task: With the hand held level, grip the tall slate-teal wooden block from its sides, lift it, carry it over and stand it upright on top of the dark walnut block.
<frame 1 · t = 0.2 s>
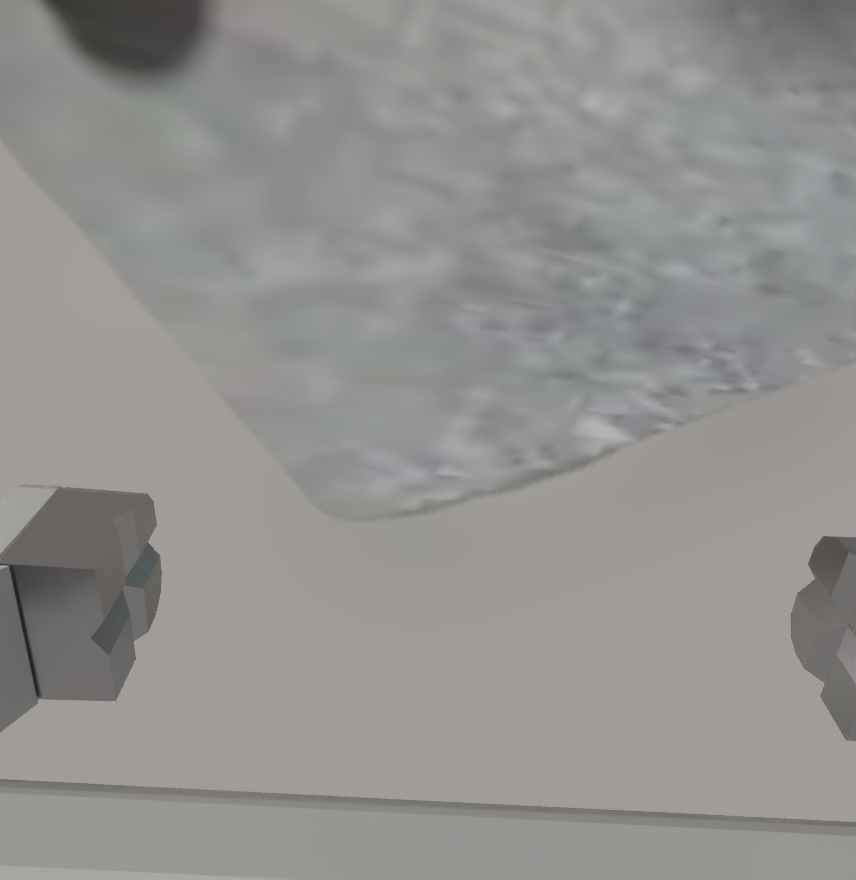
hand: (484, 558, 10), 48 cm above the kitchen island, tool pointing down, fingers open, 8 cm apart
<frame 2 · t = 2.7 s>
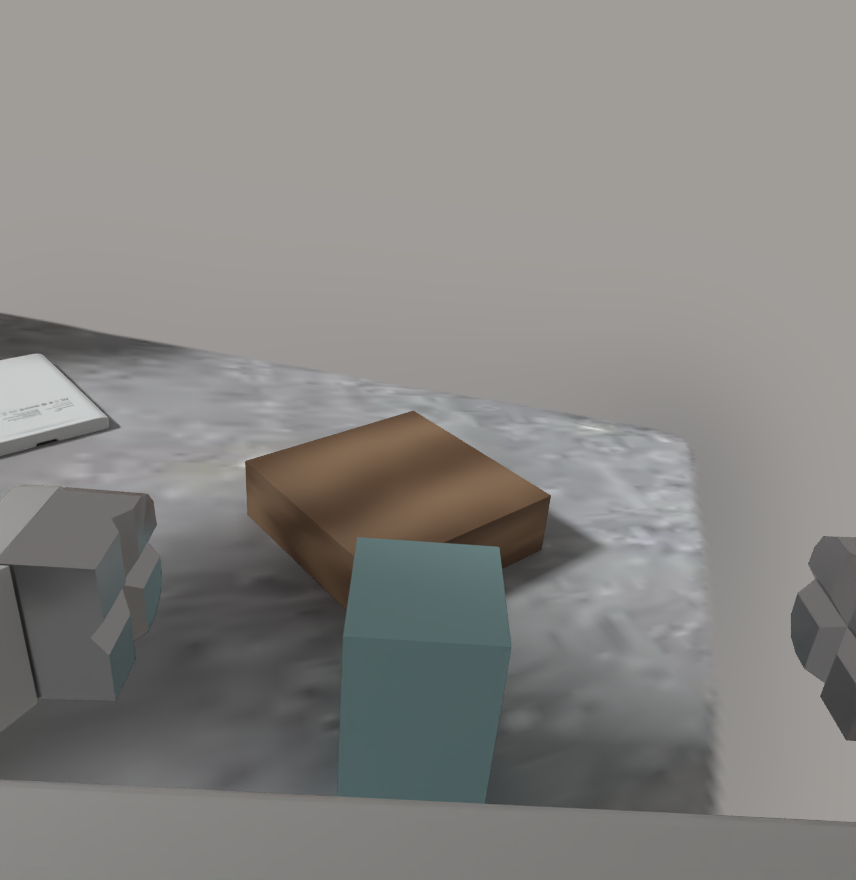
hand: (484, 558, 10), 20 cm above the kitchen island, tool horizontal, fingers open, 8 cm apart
walnut block: (392, 537, 46), on the kitchen island
external hard drive: (16, 417, 55), on the kitchen island
teal block: (407, 793, 30), on the kitchen island
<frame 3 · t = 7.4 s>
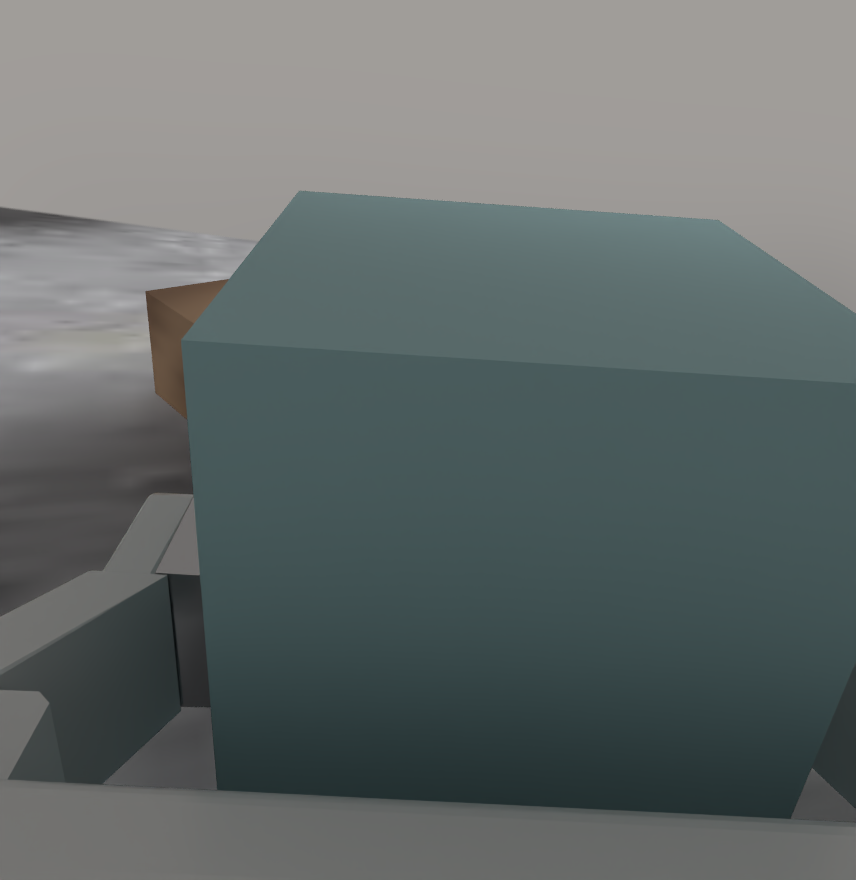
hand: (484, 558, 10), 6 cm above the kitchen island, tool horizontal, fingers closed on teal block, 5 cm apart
walnut block: (399, 427, 27), on the kitchen island
when the fingers open (11 cm above the kitchen island, at t = 13.6 s): teal block drops 2 cm, resting on walnut block.
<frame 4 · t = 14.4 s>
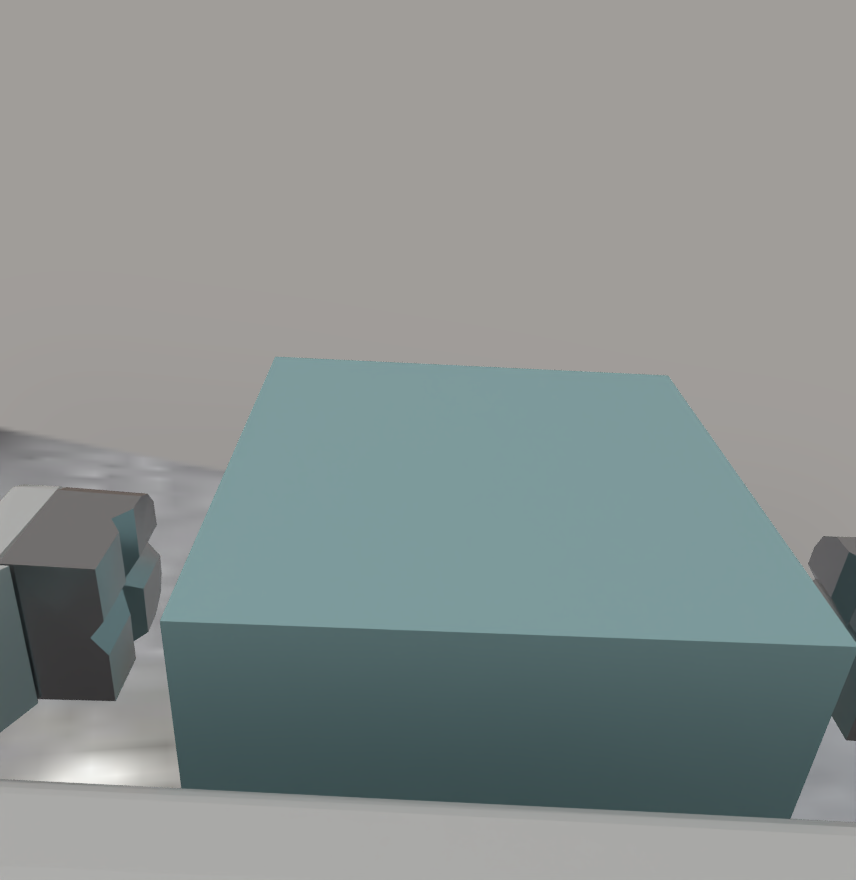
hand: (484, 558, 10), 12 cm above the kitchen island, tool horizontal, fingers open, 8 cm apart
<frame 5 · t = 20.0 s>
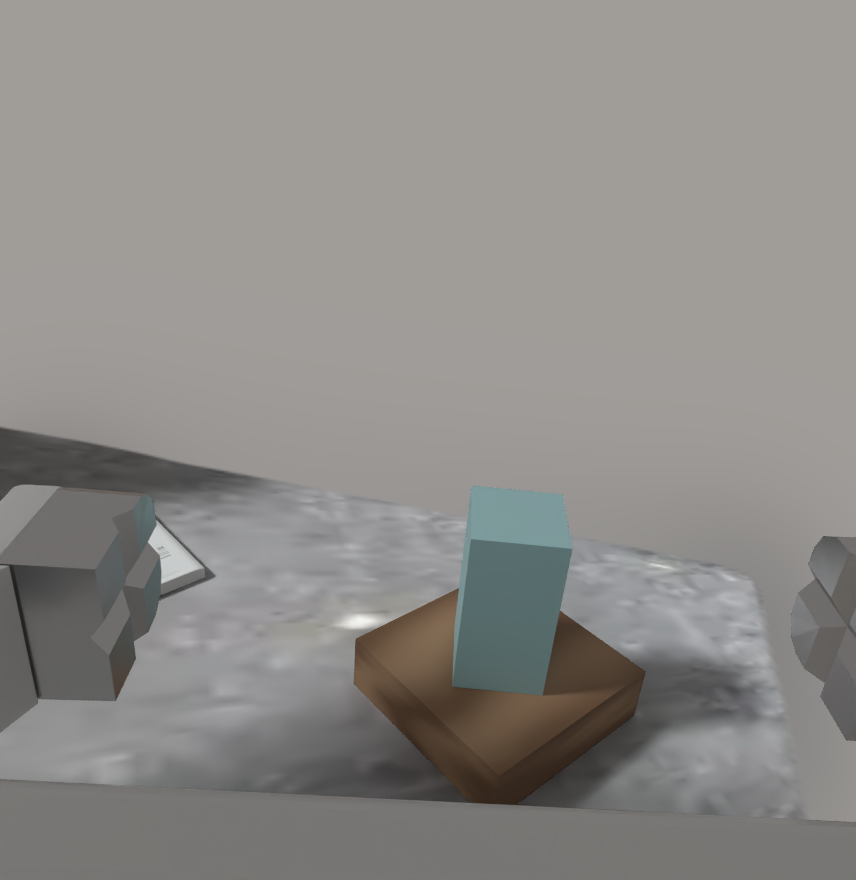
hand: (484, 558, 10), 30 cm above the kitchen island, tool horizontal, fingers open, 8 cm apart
walnut block: (492, 705, 48), on the kitchen island
external hard drive: (113, 564, 58), on the kitchen island
teal block: (496, 658, 46), point 4 cm above the kitchen island
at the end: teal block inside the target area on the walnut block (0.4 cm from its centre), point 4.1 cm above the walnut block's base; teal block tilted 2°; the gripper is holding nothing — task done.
